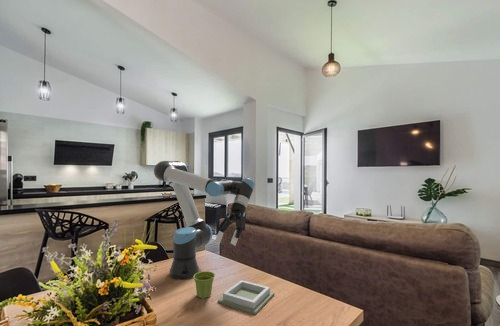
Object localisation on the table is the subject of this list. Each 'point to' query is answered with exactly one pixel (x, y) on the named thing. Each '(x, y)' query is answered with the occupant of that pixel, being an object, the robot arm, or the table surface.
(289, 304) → the table surface
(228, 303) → the grey green square tray
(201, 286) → the plant pot
